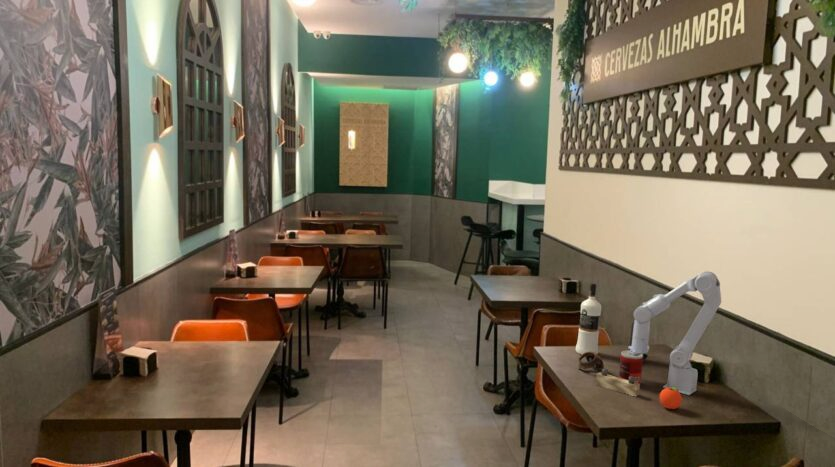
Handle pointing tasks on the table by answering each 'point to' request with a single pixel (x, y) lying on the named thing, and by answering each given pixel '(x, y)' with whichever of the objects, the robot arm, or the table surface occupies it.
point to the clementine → (670, 398)
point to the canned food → (631, 366)
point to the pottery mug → (590, 361)
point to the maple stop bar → (617, 383)
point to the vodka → (589, 324)
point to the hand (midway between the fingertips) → (636, 372)
